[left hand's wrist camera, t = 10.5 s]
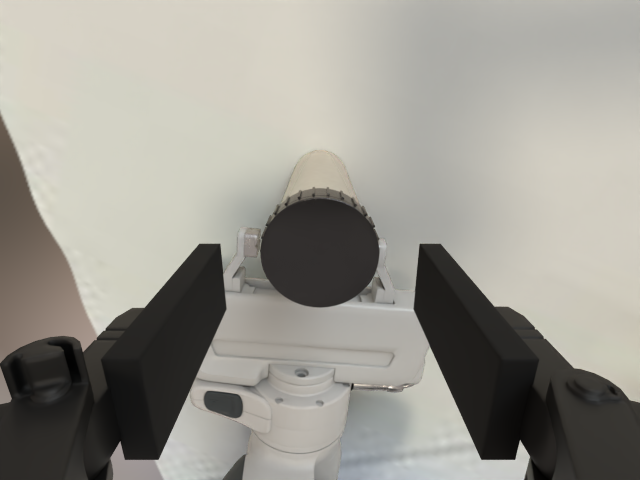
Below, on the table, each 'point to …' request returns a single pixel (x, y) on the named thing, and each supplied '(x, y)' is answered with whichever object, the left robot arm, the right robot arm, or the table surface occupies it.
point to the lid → (319, 248)
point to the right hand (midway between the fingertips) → (313, 235)
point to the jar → (319, 174)
